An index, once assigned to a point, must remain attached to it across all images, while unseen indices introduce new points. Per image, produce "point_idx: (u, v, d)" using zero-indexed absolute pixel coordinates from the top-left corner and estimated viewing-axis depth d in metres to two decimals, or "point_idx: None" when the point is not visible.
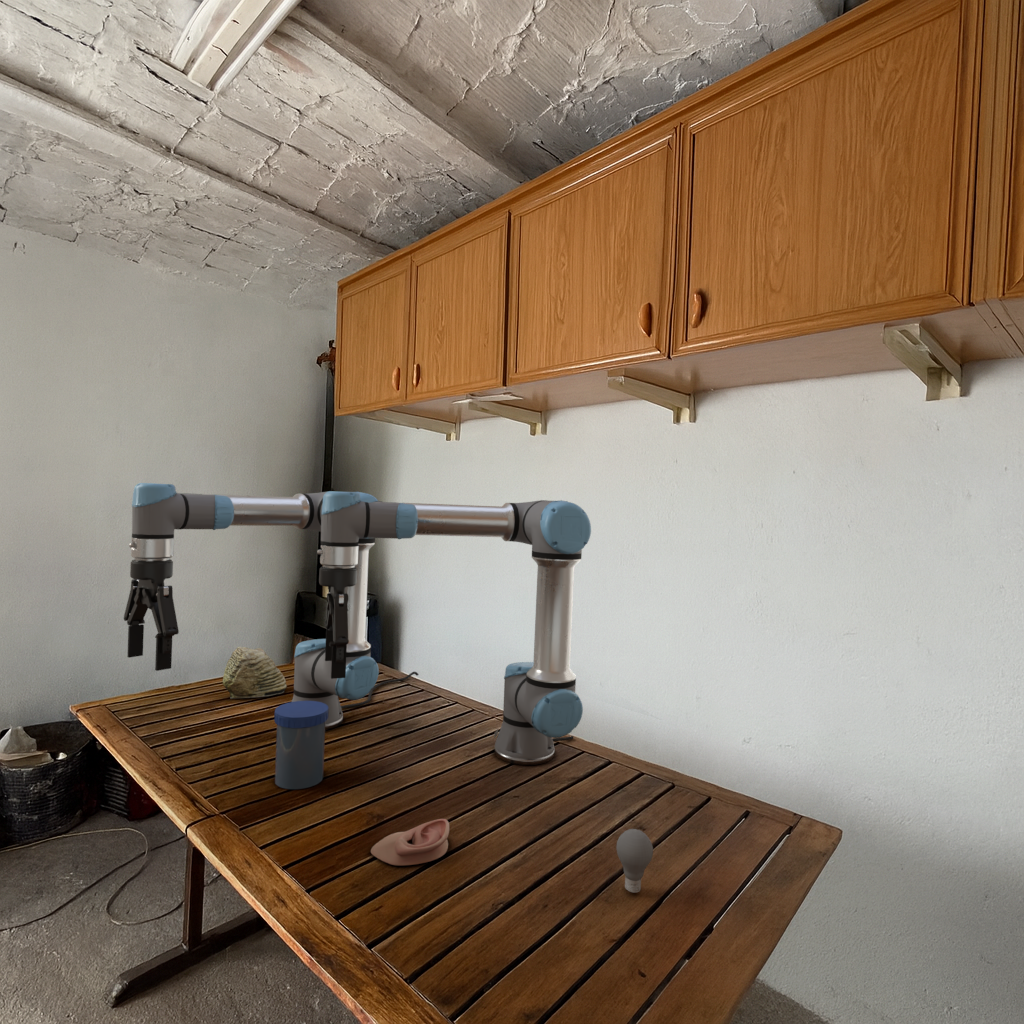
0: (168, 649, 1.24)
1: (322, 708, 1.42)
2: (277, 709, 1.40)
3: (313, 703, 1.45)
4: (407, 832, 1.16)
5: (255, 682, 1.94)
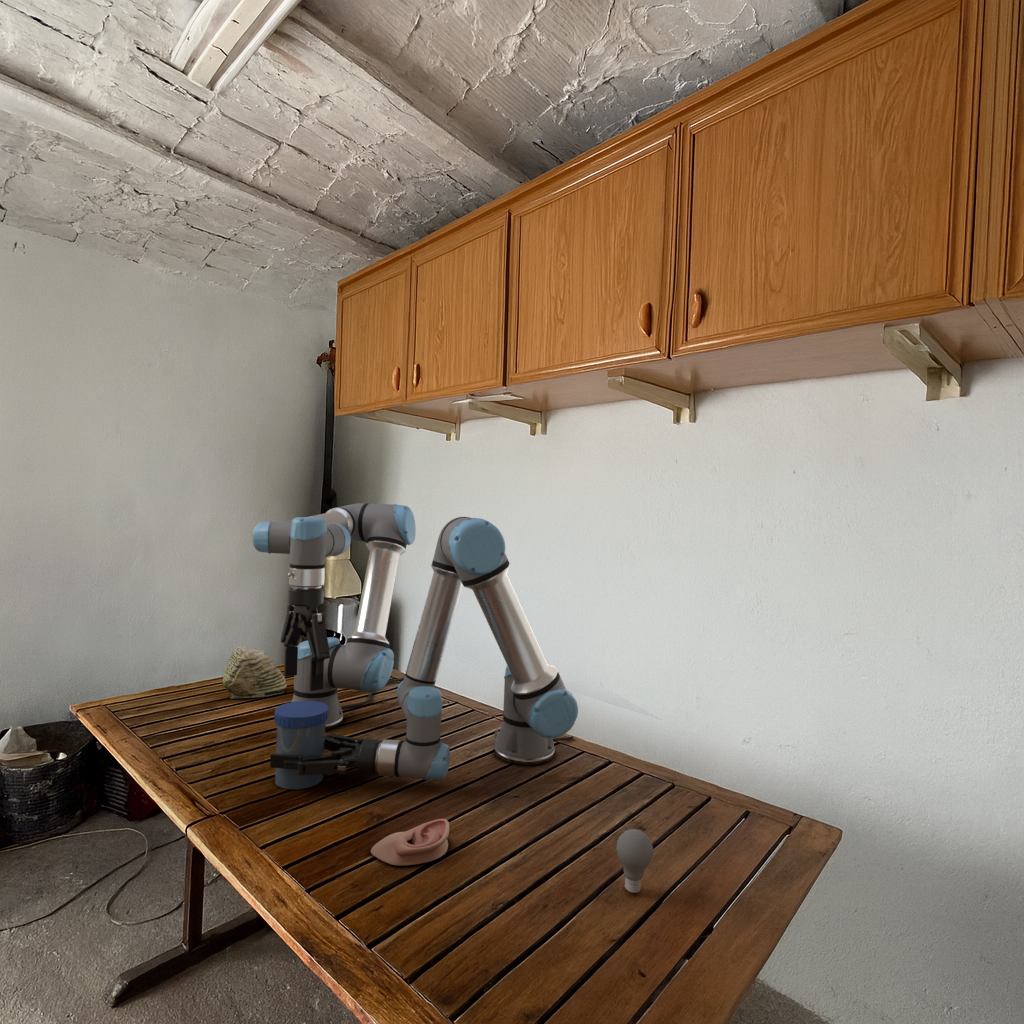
0: (321, 671, 1.36)
1: (322, 708, 1.42)
2: (277, 709, 1.40)
3: (313, 703, 1.45)
4: (407, 832, 1.16)
5: (255, 682, 1.94)
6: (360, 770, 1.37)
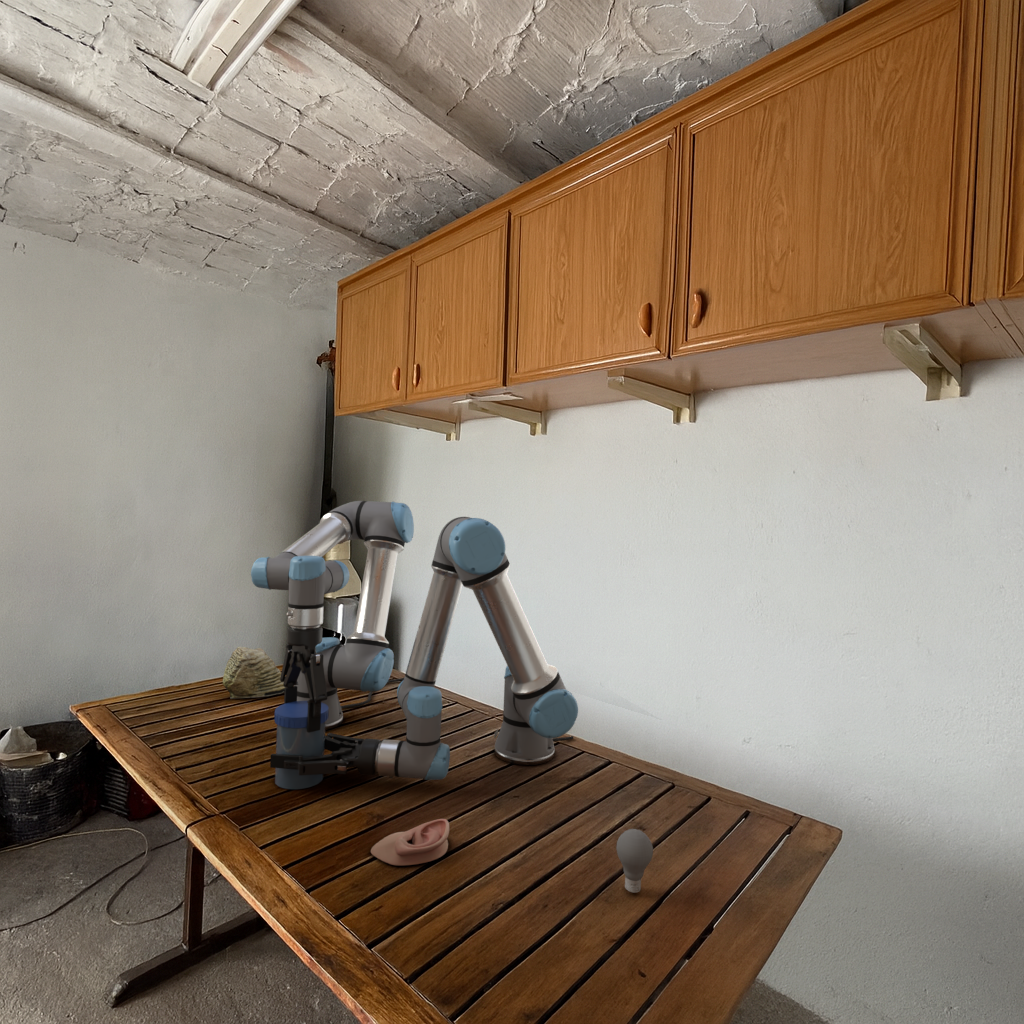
0: (318, 713, 1.36)
1: (322, 708, 1.42)
2: (277, 709, 1.40)
3: None
4: (407, 832, 1.16)
5: (255, 682, 1.94)
6: (360, 770, 1.37)
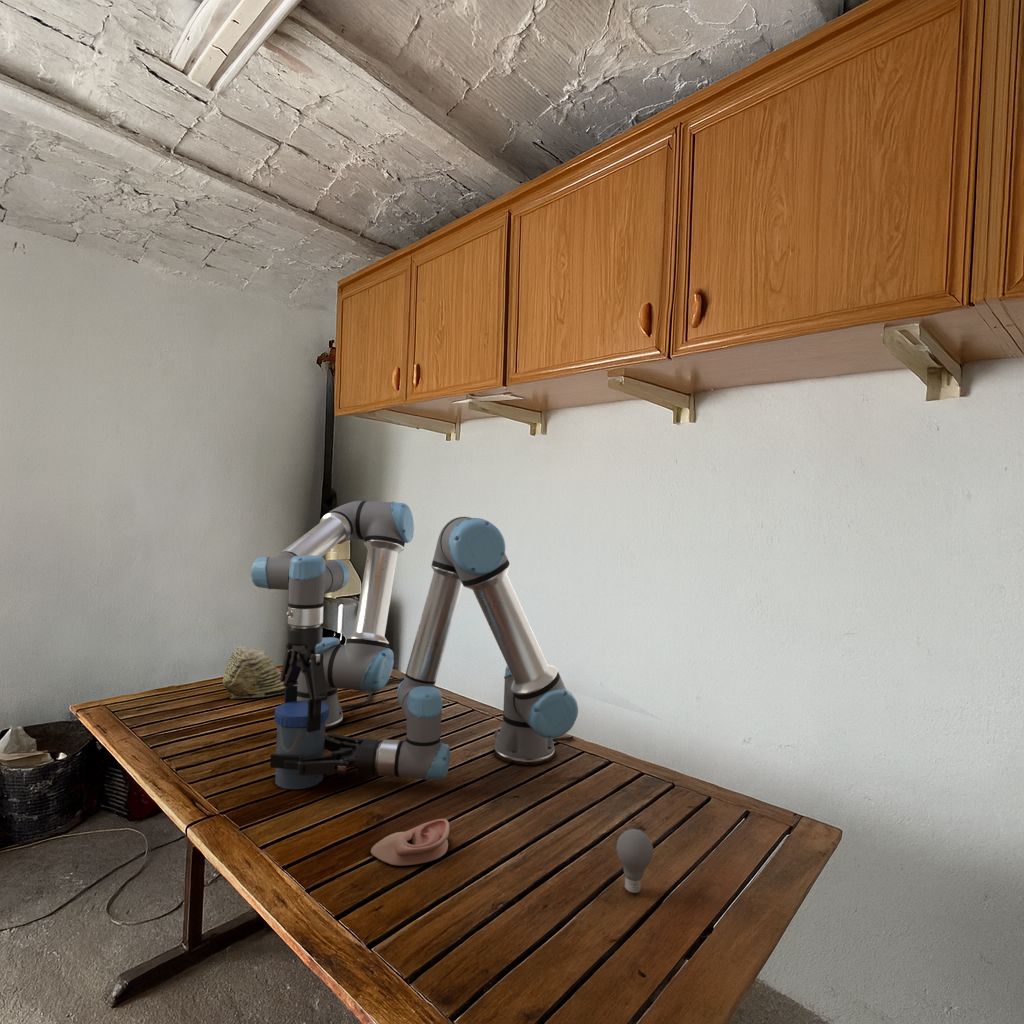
0: (318, 713, 1.36)
1: (304, 701, 1.46)
2: (300, 716, 1.36)
3: (286, 705, 1.43)
4: (407, 832, 1.16)
5: (255, 682, 1.94)
6: (360, 770, 1.37)
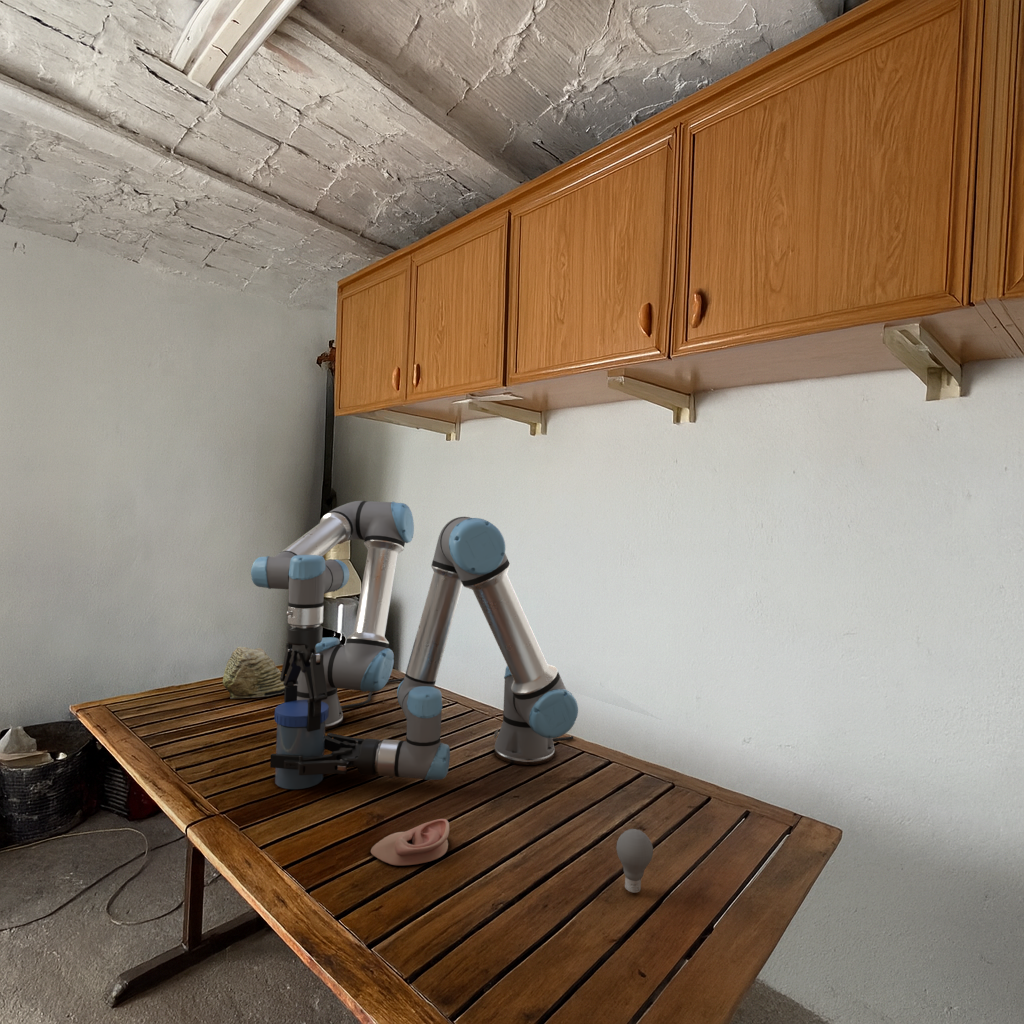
0: (318, 712, 1.36)
1: (281, 708, 1.40)
2: (326, 706, 1.43)
3: (290, 713, 1.38)
4: (407, 832, 1.16)
5: (255, 682, 1.94)
6: (360, 770, 1.37)
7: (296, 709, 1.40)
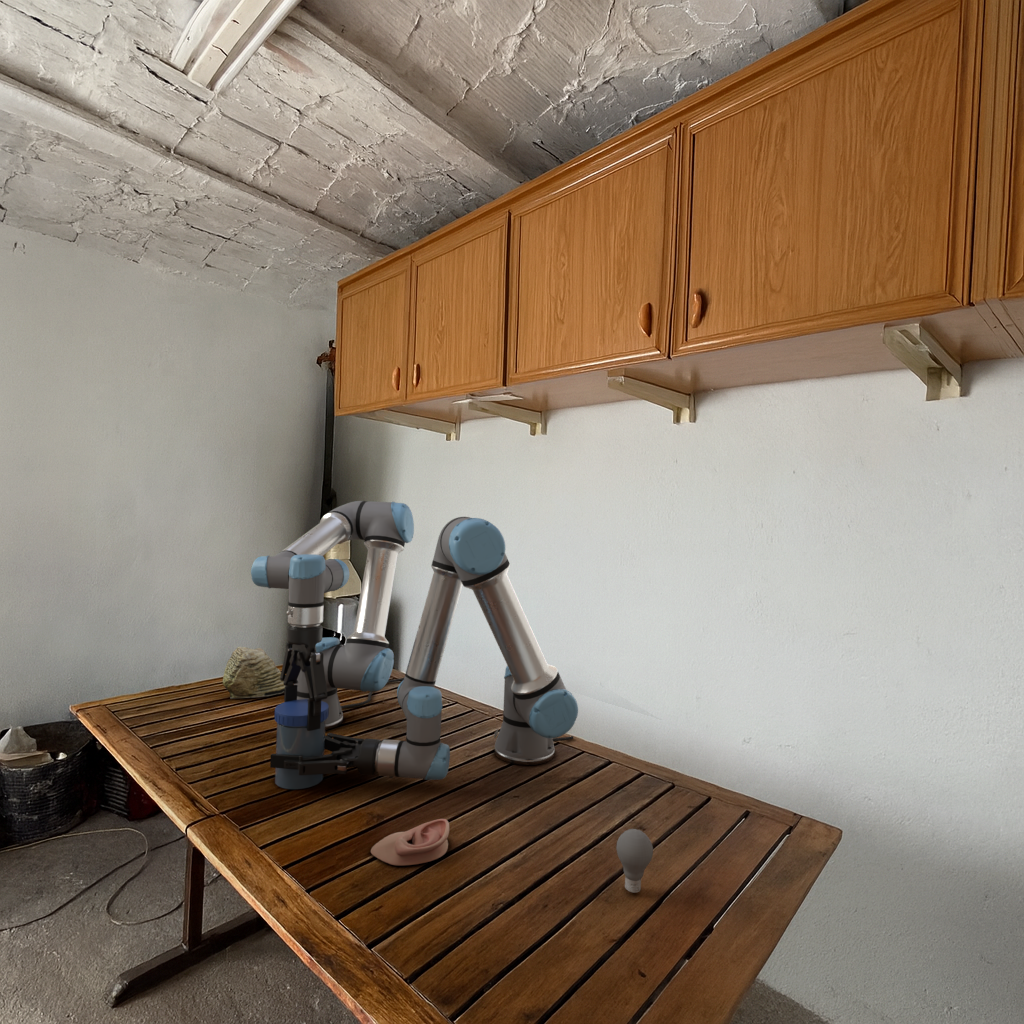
0: (318, 712, 1.36)
1: (300, 713, 1.37)
2: (302, 699, 1.46)
3: None
4: (407, 832, 1.16)
5: (255, 682, 1.94)
6: (360, 770, 1.37)
7: (307, 708, 1.41)
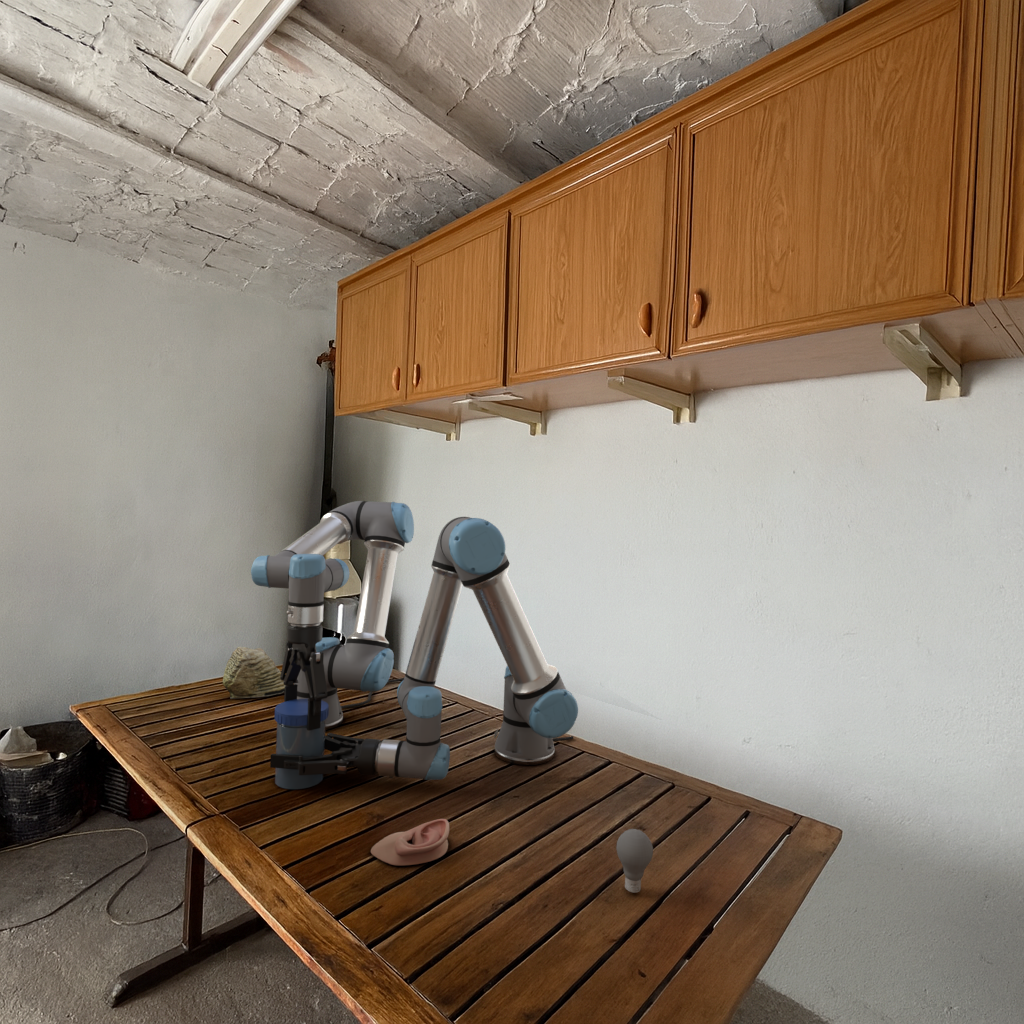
0: (318, 711, 1.36)
1: (322, 705, 1.42)
2: (277, 707, 1.40)
3: None
4: (407, 832, 1.16)
5: (255, 682, 1.94)
6: (360, 770, 1.37)
7: (307, 704, 1.43)
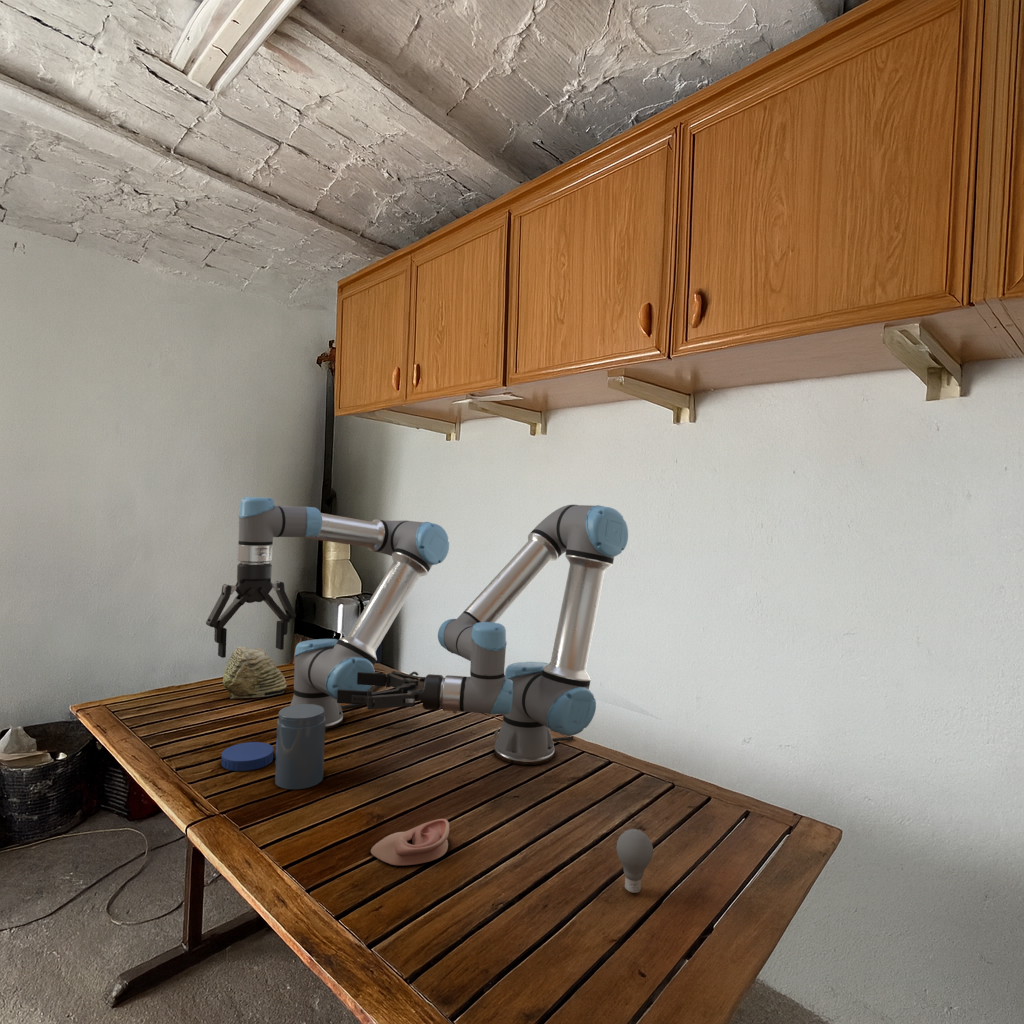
0: None
1: (250, 744, 1.54)
2: (246, 759, 1.45)
3: (233, 748, 1.51)
4: (407, 832, 1.16)
5: (255, 682, 1.94)
6: (425, 704, 1.36)
7: (243, 749, 1.51)
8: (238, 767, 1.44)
